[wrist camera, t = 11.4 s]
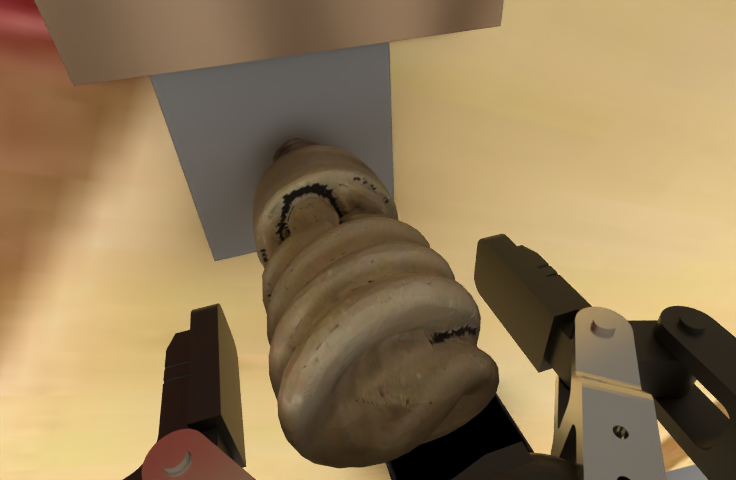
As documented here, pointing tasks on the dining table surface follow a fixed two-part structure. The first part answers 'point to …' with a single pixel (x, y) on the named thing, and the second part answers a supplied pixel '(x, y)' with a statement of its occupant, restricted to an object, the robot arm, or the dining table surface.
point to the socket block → (236, 30)
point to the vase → (459, 446)
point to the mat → (272, 126)
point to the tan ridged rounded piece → (360, 315)
